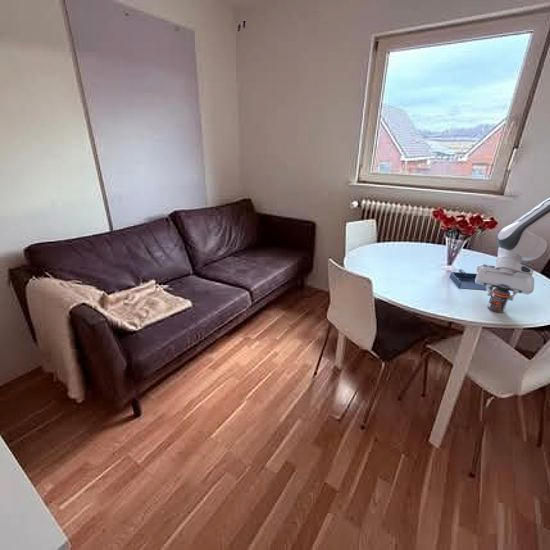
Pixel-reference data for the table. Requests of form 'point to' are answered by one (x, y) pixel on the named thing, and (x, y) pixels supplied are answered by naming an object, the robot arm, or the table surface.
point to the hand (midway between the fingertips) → (499, 297)
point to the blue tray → (466, 280)
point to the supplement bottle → (499, 298)
